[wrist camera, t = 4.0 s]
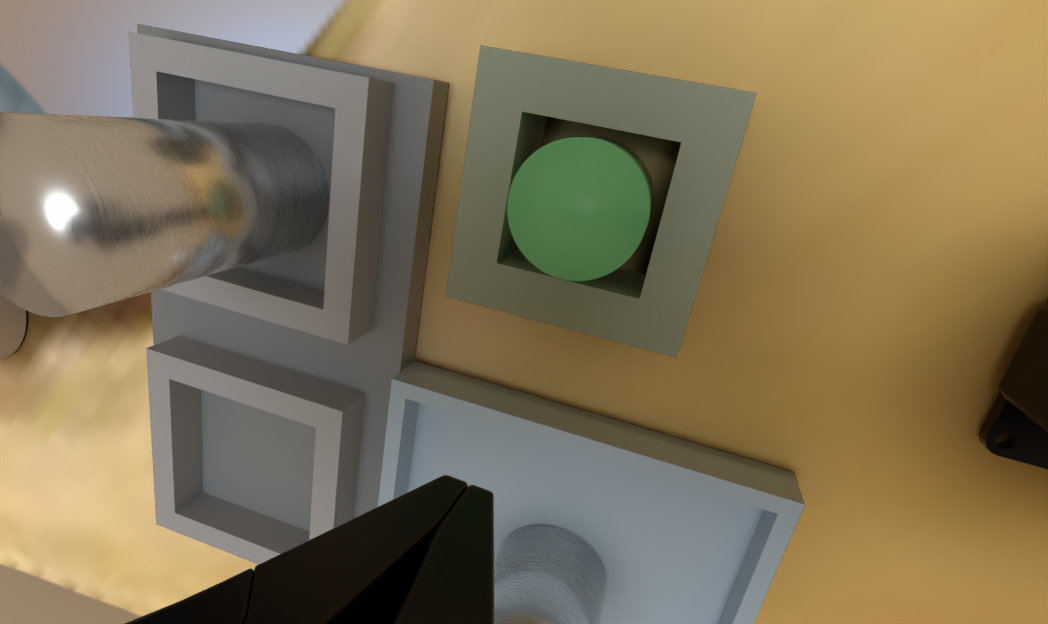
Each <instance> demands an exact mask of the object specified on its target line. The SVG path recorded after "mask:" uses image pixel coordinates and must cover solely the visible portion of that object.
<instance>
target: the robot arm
mask: <svg viewBox="0 0 1048 624" xmlns="http://www.w3.org/2000/svg"><path fill="white" fill-rule="evenodd" d="M999 389H1000V391H1001V392H1000V394H999V396H998V398H997V400H996V401H995V403H994V405H993V407H992V409H991V411H990V413H989V415H988V416H987V418H986V420H985V422H984V424H983V426H982V428H981V430H980V433H979V437H980V441H981V442H982V443H983V444H984V445H985V446H986V447H987V448H988V449H989V450H990V451H991V452H992V453H994V454H996V455H998V456H1001V457H1005V458H1009V459H1012V460H1016V461H1020V462H1023V463H1027V464H1031V465H1035V466H1038V467H1042V468H1046V469H1048V304H1047V306H1046V307H1045V308H1043V309H1041V310H1039V311H1038V313H1037V315H1036V317H1035V319H1034V320H1033V322H1032V324H1031V326H1030V328H1029V330H1028V332H1027V334H1026V336H1025V337H1024V339H1023V341H1022V343H1021V345H1020V347H1019V349H1018V351H1017V353H1016V354H1015V356H1014V358H1013V360H1012V362H1011V364H1010V366H1009V368H1008V369H1007V371H1006V373H1005V375H1004V377H1003V379H1002V381H1001V383H1000V385H999ZM1005 433H1008V434H1009V437H1008V438H1007V439H1006V440H1005V441H1002V442H996V439H997V438H998V436H999V435H1002V434H1005ZM125 624H494V495H493V493H492V492H491V491H489V490H487V489H484V488H481V487H479V486H476V485H469V486H468V484H467V483H466V482H465V481H462V480H460V479H457V478H454V477H452V476H449V475H443V476H441V477H439V478H436V479H434V480H432V481H430V482H428V483H426V484H424V485H422V486H420V487H418V488H416V489H414V490H412V491H410V492H408V493H405V494H403V495H401V496H399V497H397V498H395V499H393V500H391V501H389V502H387V503H385V504H383V505H381V506H379V507H377V508H374V509H372V510H370V511H368V512H366V513H364V514H362V515H360V516H358V517H356V518H354V519H352V520H350V521H348V522H346V523H343V524H341V525H339V526H337V527H335V528H333V529H331V530H329V531H327V532H325V533H323V534H321V535H319V536H317V537H315V538H312V539H310V540H308V541H306V542H304V543H302V544H300V545H298V546H296V547H294V548H292V549H290V550H288V551H286V552H284V553H281V554H279V555H277V556H275V557H273V558H271V559H269V560H267V561H265V562H263V563H261V564H259V565H257V566H256V567H255V569H254V571H253V569H248V570H246V571H244V572H242V573H240V574H238V575H236V576H233V577H231V578H229V579H227V580H225V581H223V582H221V583H219V584H217V585H214V586H212V587H210V588H208V589H206V590H203V591H201V592H199V593H197V594H195V595H192V596H190V597H188V598H186V599H184V600H181V601H179V602H177V603H174V604H172V605H169V606H167V607H164V608H162V609H159V610H157V611H154V612H152V613H150V614H147V615H145V616H142V617H140V618H137V619H135V620H133V621H130V622H127V623H125Z"/></svg>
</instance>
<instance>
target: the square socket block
mask: <svg viewBox="0 0 1048 624" xmlns="http://www.w3.org/2000/svg"><path fill="white" fill-rule="evenodd" d="M756 95H757V93H753V92H748V91H742V90H736V89H730V88H724V87H719V86H713V85H707V84H701V83H696V82H690V81H684V80H678V79H672V78H667V77H661V76H655V75H649V74H643V73H638V72H632V71H626V70H620V69H615V68H609V67H603V66H597V65H591V64H586V63H580V62H574V61H568V60H563V59H557V58H551V57H545V56H539V55H534V54H528V53H522V52H516V51H511V50H505V49H499V48H493V47H487V46H482V45H481V47H480V54H479V61H478V68H477V75H476V82H475V89H474V97H473V104H472V111H471V118H470V125H469V132H468V139H467V147H466V154H465V161H464V168H463V175H462V182H461V189H460V197H459V204H458V211H457V218H456V225H455V232H454V239H453V247H452V254H451V261H450V268H449V275H448V282H447V289H446V297H450V298H454V299H458V300H461V301H465V302H469V303H473V304H476V305H480V306H484V307H487V308H491V309H495V310H499V311H502V312H506V313H510V314H514V315H517V316H521V317H525V318H529V319H532V320H536V321H540V322H543V323H547V324H551V325H555V326H558V327H562V328H566V329H570V330H573V331H577V332H581V333H585V334H588V335H592V336H596V337H600V338H603V339H607V340H611V341H614V342H618V343H622V344H626V345H629V346H633V347H637V348H641V349H644V350H648V351H652V352H656V353H659V354H663V355H667V356H670V357H674V358H677V356H678V352H679V349H680V346H681V343H682V339H683V336H684V333H685V329H686V326H687V323H688V319H689V316H690V313H691V310H692V306H693V303H694V300H695V296H696V293H697V290H698V286H699V283H700V280H701V276H702V273H703V270H704V267H705V263H706V260H707V257H708V253H709V250H710V247H711V243H712V240H713V237H714V234H715V230H716V227H717V224H718V220H719V217H720V214H721V210H722V207H723V204H724V200H725V197H726V194H727V191H728V187H729V184H730V181H731V177H732V174H733V171H734V167H735V164H736V161H737V158H738V154H739V151H740V148H741V144H742V141H743V138H744V134H745V131H746V128H747V125H748V121H749V118H750V115H751V111H752V108H753V105H754V101H755V98H756ZM547 116H548V117H553V118H558V119H564V120H569V121H574V122H579V123H584V124H589V125H594V126H600V127H605V128H610V129H615V130H620V131H625V132H631V133H636V134H641V135H646V136H651V137H656V138H661V139H667V140H672V141H677V142H681V145H680V149H679V152H678V156H677V160H676V164H675V167H674V171H673V175H672V179H671V182H670V186H669V190H668V194H667V197H666V201H665V205H664V209H663V212H662V216H661V220H660V224H659V227H658V231H657V235H656V239H655V242H654V246H653V250H652V254H651V257H650V261H649V265H648V269H647V272H646V274H642V273H637V272H633V271H629V270H625V269H621V268H618V269H616V270H615V271H613V272H611V273H609V274H607V275H605V276H603V277H600V278H597V279H592V280H587V281H569V280H564V279H559V278H556V277H553V276H551V275H549V274H547V273H544V272H543V271H541V270H540V269H538V268H537V267H535V266H534V265H533V264H532V263H531V262H530V261H529V260H528V259H527V258H526V257H525V256H524V255H523V254H522V252H521V251H520V249H519V248H518V246H517V244H516V243H515V241H514V238H513V236H512V234H511V230H510V227H509V222H508V215H507V203H508V195H509V191H510V187H511V185H512V182H513V179H514V177H515V175H516V173H517V172H518V170H519V169H520V167H521V166H522V164H523V163H524V162H525V161H526V160H527V159H528V158H529V156H531V155H532V154H533V153H534V152H535V151H537V150H538V149H540V148H541V147H542V142H543V136H544V131H545V125H546V120H547Z"/></svg>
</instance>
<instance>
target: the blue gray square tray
mask: <svg viewBox="0 0 1048 624" xmlns="http://www.w3.org/2000/svg"><path fill="white" fill-rule="evenodd" d="M443 475H449V476H452V477H454V478H457V479H460V480H462V481H465V482H466V483H467V484H468V486H469V485H476V486H479V487H481V488H484V489H487V490H489V491H491V492H492V493H493V495H494V560H495V557H496V555H497V553H498V551H499V548H500V546H501V544H502V542H503V541H504V539H505V538H506V537H507V536H508V535H509V534H510V533H511V532H513V531H514V530H516V529H518V528H520V527H523V526H526V525H531V524H550V525H556V526H559V527H563V528H565V529H568V530H570V531H572V532H574V533H576V534H577V535H579V536H580V537H582V538H583V539H584V540H585V541H587V542H588V543H589V544H590V545H591V546H592V547H593V548H594V550H595V551H596V552H597V553H598V555H599V557H600V558H601V560H602V562H603V565H604V567H605V571H606V577H607V584H606V591H605V597H604V603H603V609H602V615H601V621H600V624H754V621H755V619H756V617H757V614H758V612H759V610H760V607H761V605H762V603H763V600H764V598H765V596H766V594H767V591H768V589H769V587H770V584H771V582H772V580H773V577H774V575H775V573H776V570H777V568H778V566H779V563H780V561H781V559H782V557H783V554H784V552H785V550H786V547H787V545H788V543H789V540H790V538H791V536H792V533H793V531H794V529H795V526H796V524H797V522H798V520H799V517H800V515H801V513H802V510H803V508H804V506H805V503H804V500H803V498H802V495H801V492H800V489H799V486H798V483H797V480H796V477H795V474H794V472H791V471H788V470H785V469H781V468H778V467H775V466H771V465H768V464H764V463H761V462H758V461H754V460H751V459H747V458H744V457H741V456H737V455H734V454H730V453H727V452H724V451H720V450H717V449H713V448H710V447H707V446H703V445H700V444H697V443H693V442H690V441H686V440H683V439H680V438H676V437H673V436H669V435H666V434H663V433H659V432H656V431H652V430H649V429H646V428H642V427H639V426H635V425H632V424H629V423H625V422H622V421H618V420H615V419H612V418H608V417H605V416H602V415H598V414H595V413H591V412H588V411H585V410H581V409H578V408H574V407H571V406H568V405H564V404H561V403H557V402H554V401H551V400H547V399H544V398H540V397H537V396H534V395H530V394H527V393H523V392H520V391H517V390H513V389H510V388H507V387H503V386H500V385H496V384H493V383H490V382H486V381H483V380H479V379H476V378H473V377H469V376H466V375H462V374H459V373H456V372H452V371H449V370H445V369H442V368H439V367H435V366H432V365H428V364H425V363H422V362H418V361H415V360H414V361H413V362H412V363H411V364H409V365H408V366H407V367H406V368H405V369H403V370H402V371H401V372H400V373H398V374H397V375H396V376H395V377H394V378H392V382H391V391H390V400H389V409H388V418H387V427H386V436H385V445H384V454H383V463H382V472H381V481H380V490H379V499H378V507H379V506H381V505H383V504H385V503H387V502H389V501H391V500H393V499H395V498H397V497H399V496H401V495H403V494H405V493H408V492H410V491H412V490H414V489H416V488H418V487H420V486H422V485H424V484H426V483H428V482H430V481H432V480H434V479H436V478H439V477H441V476H443Z"/></svg>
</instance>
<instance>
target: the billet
mask: <svg viewBox="0 0 1048 624" xmlns="http://www.w3.org/2000/svg"><path fill="white" fill-rule="evenodd" d="M606 584H607V577H606V571H605V567H604V565H603V562H602V560H601V558H600V557H599V555H598V553H597V552H596V551H595V550H594V548H593V547H592V546H591V545H590V544H589V543H588V542H587V541H585V540H584V539H583V538H582V537H580V536H579V535H577V534H576V533H574V532H572V531H570V530H568V529H565V528H563V527H559V526H556V525H550V524H531V525H526V526H523V527H520V528H518V529H516V530H514V531H513V532H511V533H510V534H509V535H508V536H507V537H506V538H505V539H504V541H503V542H502V544H501V546H500V548H499V551H498V553H497V555H496V557H495V560H494V624H600V621H601V615H602V609H603V603H604V597H605V591H606Z"/></svg>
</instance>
